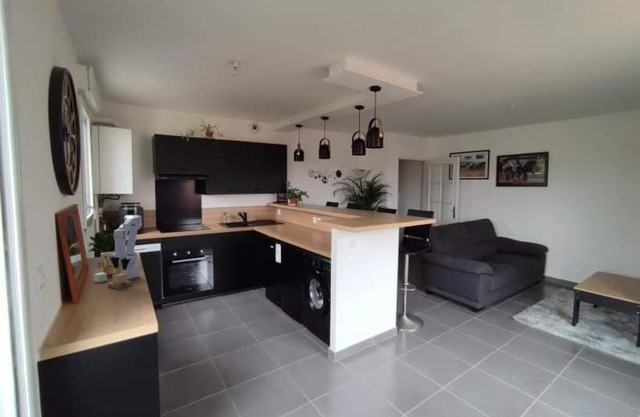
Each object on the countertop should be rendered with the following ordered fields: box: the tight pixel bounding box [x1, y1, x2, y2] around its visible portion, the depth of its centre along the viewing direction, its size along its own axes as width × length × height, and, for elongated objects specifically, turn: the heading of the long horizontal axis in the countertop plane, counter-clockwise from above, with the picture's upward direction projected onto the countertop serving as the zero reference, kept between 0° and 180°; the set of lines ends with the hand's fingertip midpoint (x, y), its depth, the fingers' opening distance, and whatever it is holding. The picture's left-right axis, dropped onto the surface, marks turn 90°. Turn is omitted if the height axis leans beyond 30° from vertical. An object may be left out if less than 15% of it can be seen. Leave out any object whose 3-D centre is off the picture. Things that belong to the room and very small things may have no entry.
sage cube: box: [93, 271, 108, 283], centre depth 200 cm, size 5×5×5 cm
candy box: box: [100, 251, 117, 276], centre depth 216 cm, size 9×4×15 cm, turn 129°
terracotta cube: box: [112, 272, 126, 284], centre depth 191 cm, size 5×5×5 cm
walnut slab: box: [107, 280, 133, 290], centre depth 191 cm, size 9×9×3 cm
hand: (120, 269), depth 193 cm, fingers open, 7 cm apart
